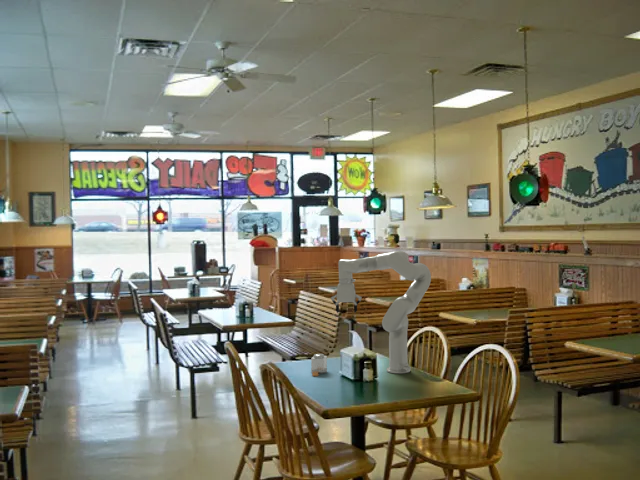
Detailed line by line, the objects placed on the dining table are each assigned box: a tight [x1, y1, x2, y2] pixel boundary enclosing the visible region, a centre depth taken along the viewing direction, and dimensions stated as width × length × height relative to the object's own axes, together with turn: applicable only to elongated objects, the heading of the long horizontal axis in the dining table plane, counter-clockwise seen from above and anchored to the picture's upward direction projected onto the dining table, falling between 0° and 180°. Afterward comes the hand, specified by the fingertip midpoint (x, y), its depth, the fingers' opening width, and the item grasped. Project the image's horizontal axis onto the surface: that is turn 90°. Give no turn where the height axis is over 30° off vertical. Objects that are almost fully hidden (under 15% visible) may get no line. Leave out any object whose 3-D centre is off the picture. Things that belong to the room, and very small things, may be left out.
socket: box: [310, 353, 328, 371], centre depth 332 cm, size 7×7×7 cm
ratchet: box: [310, 368, 328, 377], centre depth 330 cm, size 13×8×6 cm, turn 166°
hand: (346, 312), depth 348 cm, fingers open, 9 cm apart
